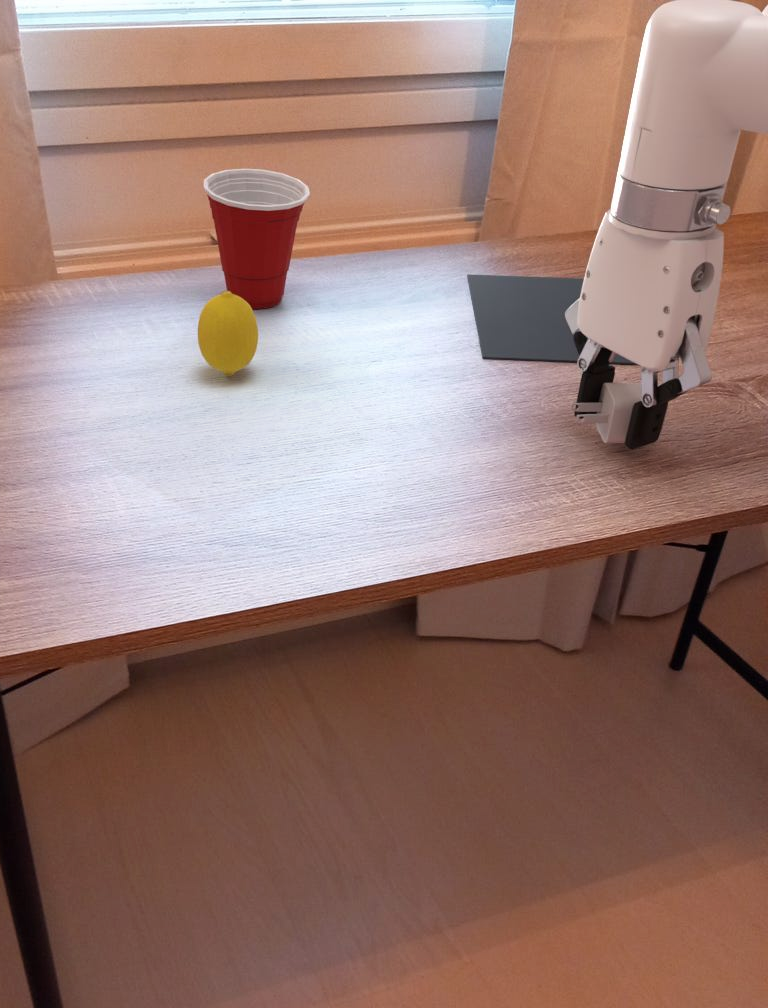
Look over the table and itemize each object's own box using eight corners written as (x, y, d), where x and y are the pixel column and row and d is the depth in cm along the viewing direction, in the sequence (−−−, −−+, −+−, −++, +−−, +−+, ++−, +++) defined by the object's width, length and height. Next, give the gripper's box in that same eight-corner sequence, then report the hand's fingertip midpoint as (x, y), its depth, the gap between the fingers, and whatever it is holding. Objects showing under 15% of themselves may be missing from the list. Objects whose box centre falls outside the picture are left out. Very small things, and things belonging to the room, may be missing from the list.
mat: (670, 366, 98) (670, 364, 98) (482, 358, 99) (483, 356, 99) (626, 281, 115) (627, 280, 115) (467, 276, 116) (467, 274, 116)
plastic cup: (274, 328, 104) (275, 206, 97) (187, 306, 108) (181, 187, 101) (325, 293, 112) (329, 177, 104) (241, 274, 116) (239, 161, 108)
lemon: (270, 376, 96) (270, 292, 91) (226, 394, 93) (223, 308, 88) (231, 357, 99) (229, 275, 94) (187, 374, 96) (182, 290, 91)
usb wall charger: (658, 446, 84) (669, 401, 82) (574, 446, 84) (583, 402, 82) (645, 422, 87) (655, 379, 85) (564, 423, 87) (572, 379, 85)
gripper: (799, 228, 69) (726, 463, 81) (620, 166, 81) (579, 379, 92) (720, 246, 66) (656, 487, 78) (547, 179, 78) (513, 398, 89)
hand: (615, 427), depth 85 cm, fingers closed on usb wall charger, 5 cm apart
